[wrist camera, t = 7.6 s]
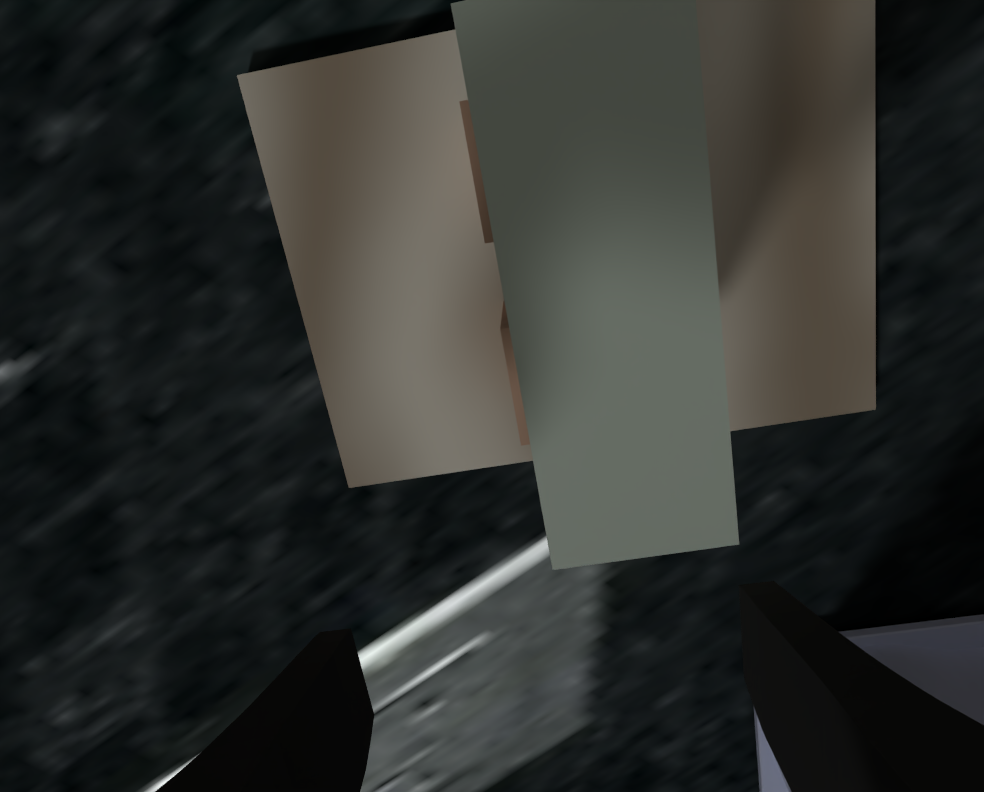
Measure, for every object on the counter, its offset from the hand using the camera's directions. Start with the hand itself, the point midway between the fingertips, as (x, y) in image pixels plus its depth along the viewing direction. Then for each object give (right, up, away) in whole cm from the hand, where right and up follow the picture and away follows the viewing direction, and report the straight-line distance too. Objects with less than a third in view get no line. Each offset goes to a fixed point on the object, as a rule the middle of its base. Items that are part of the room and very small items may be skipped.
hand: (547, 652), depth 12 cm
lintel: (+1, +7, +3) cm, 8 cm away
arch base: (+1, +9, +7) cm, 11 cm away
